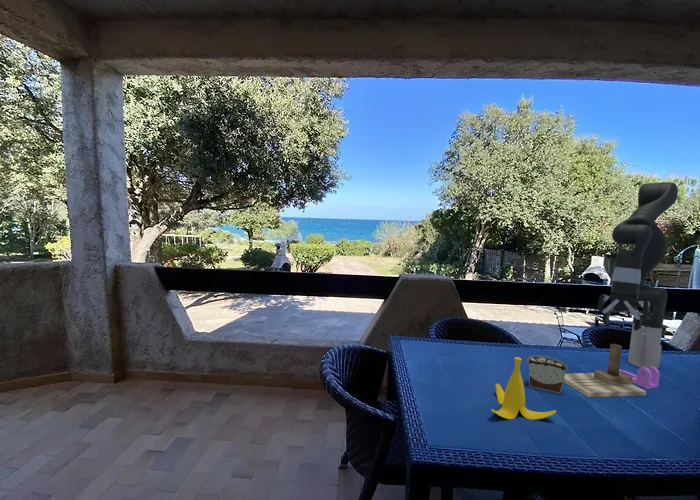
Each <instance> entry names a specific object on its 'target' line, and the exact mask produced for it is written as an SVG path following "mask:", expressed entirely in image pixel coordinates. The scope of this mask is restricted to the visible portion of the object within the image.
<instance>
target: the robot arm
mask: <svg viewBox="0 0 700 500" xmlns="http://www.w3.org/2000/svg"><path fill="white" fill-rule="evenodd" d="M678 192H679V190H678V186H677V184H676V183H674V182H671V181H670V182H669V181H668V182H667V181H665V182H650V183H649V182H647V183H642V184H641V185H640V187H639V189H638V195H637V208H636V209H634V211H633V212H632V213H631V214H630V216H629V217H628V218H626V219H624V220H623V221H621V222H619V223H618V224H617V225H616V226H614V229H613V230H612V232H611V238H612V240H613V241H614V243H616V244H617V245H627V246H628V245H629V246H630V245H631V246H633V248H632V249H630V250H623V251H621V250H620V251H619V252H617V253H616V256H615V264H614V269H613V273H612V277H611V279H612V281H611V289H610V295H607V294H599V298H598V303H597V311H599V312H601V313H602V319H601V320H602V323H603V325H609V322H610V316H611V314H610V313H611V312H612V311H613V310H622V311H626V312H630V313H631V314H632V315H633V318H632V325H631V335H630V344H629V352H628V361H627V362H628V363H629V364H630V365H632V366H635V367H638V368H643V367H645V368H646V367H650V366H653V367H656V368H657V369H658V368H660V365H661V356H662V349H663V345H661V340H662V334H663V333H662V331H663V325H664V324H663V323H664V319H665V318H664V317H665V312H666V306H667V303H668V292H667V290H666V289H665V288H661V287H656V286H650V285H645V281H646V278H647V277H648V275H650V273H651V272H653V270H654V269H655V268H656V267H657V266H658V265H660V263H661V262H662V261H663V260H664V259H665V258H666V255H667V245H668V240H667V237H666V235H665V234H664V232H663V231H662V229H661V228H660V227H659V226H658V224H657V223H656V220H657V219H658V218H659V216H661V215H662V214H663V213H665V212H666V211H667V210H669V208H671V207H672V206H673V205H674V204H675V202H676V201H677V199H678V195H679V193H678ZM608 300H609V302H610V304H609V305H607V306H606V307H605V304H606V302H607V301H608ZM638 308H642V314H641V312H640V311H639V310H638Z"/></svg>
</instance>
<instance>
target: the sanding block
mask: <svg viewBox="0 0 700 500" xmlns="http://www.w3.org/2000/svg"><path fill="white" fill-rule="evenodd" d="M622 349H623V346H622V345H620V344H616V343H610V347H609V356H608V363H607V364H608V365H607V369H605V370H604V369H602V370H594V372H593V373H594V378H595V379H597V380H598V381H600V382H602V383H604V384H606V385H608V386H627V385H631V384H633V383H632V377H630V376H628V375H625V374H623V373H621V372H619V369H621V368H620V367H621V357H622V351H623V350H622Z"/></svg>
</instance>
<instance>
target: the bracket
mask: <svg viewBox="0 0 700 500" xmlns="http://www.w3.org/2000/svg"><path fill="white" fill-rule="evenodd" d="M619 372H621V373H623V374H625V375H628V376H630V377H632V383H631V384H633V385H636V386H638V387H640V388H641V387H642V388H644V389H645V390H649V389H656V388H659V382H660V375H661V373H660V371H659V369H658V368H656V367H653V366H650V367H646V368H645V367H643V368H640V367H638V368H637V371H636V374H635V373H633V372H629V371H627V370H625V369H624V370H622V369H621V368H619Z"/></svg>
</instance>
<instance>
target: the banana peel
mask: <svg viewBox="0 0 700 500" xmlns="http://www.w3.org/2000/svg"><path fill="white" fill-rule="evenodd" d="M513 359H514V360H513V361H514V367H513V372H512V373H511V375H510V377H509V379H508V382H507V384H506V387H505V391H504V389H503V387H502V386H501V384H500V383H495V393H496V398H497V402H498V404H499V405H501V407H500V408H499V409H498V410H495V409H493V408H491V409H490V411H491V412H493V414H496V415H497V416H499V417H501V418H503V419H506V420H513V419H515V418H516V417H517V416H518V414H519V412H520V414H521V415H522V417H524V419H528V420H534V421H535V420H541V419H545V418H549V417H550V416H553V415H555V414H557V411H556V410H551V411H543V412H542V411H533V410H530V409H528V408H527V407H526V392H525V391H526V390H525V386H524V380H523V378H522V377H523V376H522V374H521V363H522V358H521V357H518V356H516V357H513Z"/></svg>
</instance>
